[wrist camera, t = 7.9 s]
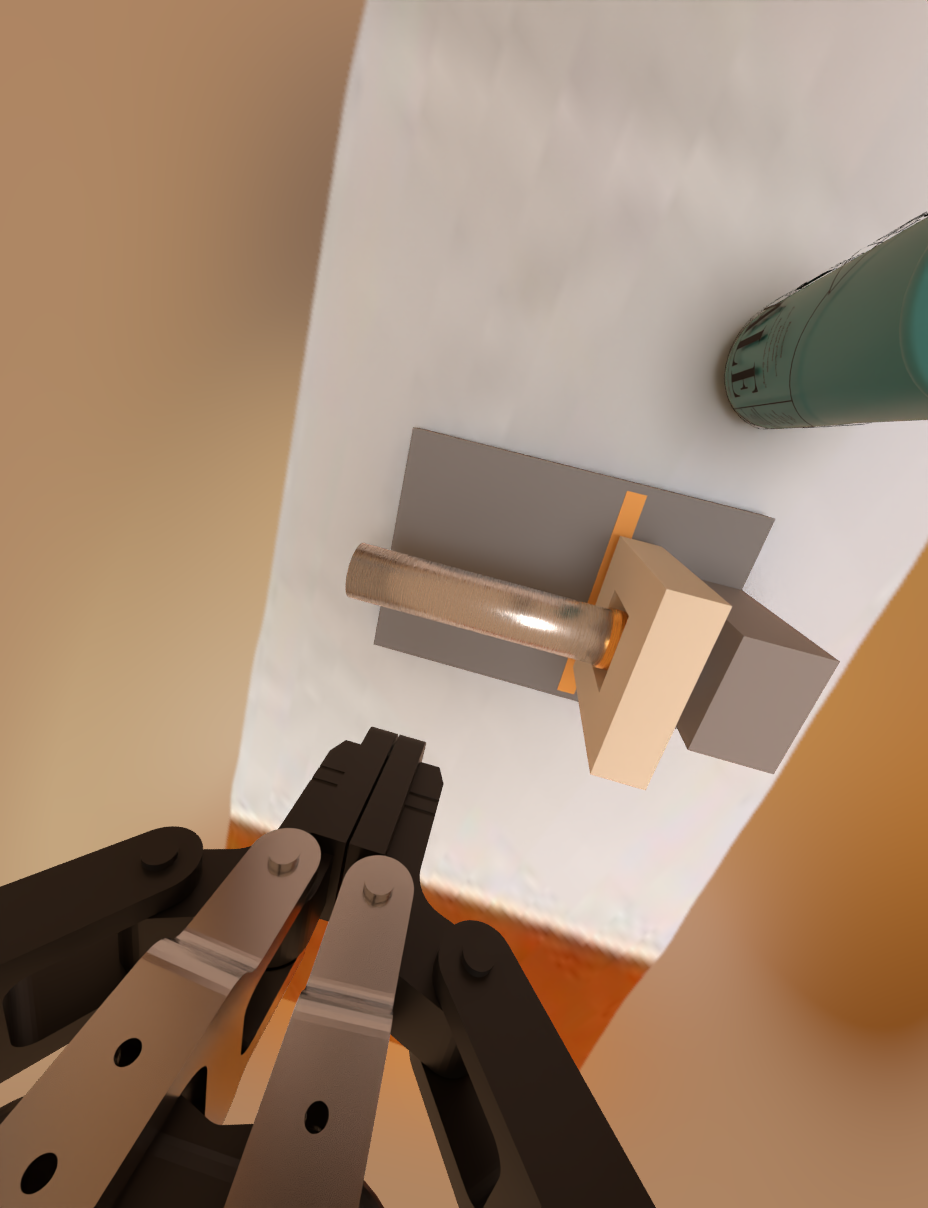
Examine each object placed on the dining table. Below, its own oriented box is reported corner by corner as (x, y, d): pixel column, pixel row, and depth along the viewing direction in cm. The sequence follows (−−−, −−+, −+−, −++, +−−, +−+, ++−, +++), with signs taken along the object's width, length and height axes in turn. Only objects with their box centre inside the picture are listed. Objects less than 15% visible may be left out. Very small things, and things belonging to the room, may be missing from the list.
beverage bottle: (842, 410, 26) (1586, 337, 8) (716, 448, 28) (1082, 466, 9) (831, 282, 25) (1760, -213, 6) (697, 331, 26) (1102, 58, 7)
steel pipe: (371, 535, 26) (350, 548, 23) (711, 626, 25) (735, 652, 22) (362, 588, 27) (341, 607, 24) (687, 678, 26) (707, 709, 23)
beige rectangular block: (620, 535, 28) (666, 588, 18) (661, 546, 28) (732, 606, 18) (573, 667, 31) (590, 774, 21) (610, 677, 31) (645, 790, 21)
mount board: (418, 428, 30) (353, 421, 19) (763, 515, 29) (899, 559, 18) (380, 636, 35) (311, 721, 24) (670, 717, 34) (731, 845, 23)
